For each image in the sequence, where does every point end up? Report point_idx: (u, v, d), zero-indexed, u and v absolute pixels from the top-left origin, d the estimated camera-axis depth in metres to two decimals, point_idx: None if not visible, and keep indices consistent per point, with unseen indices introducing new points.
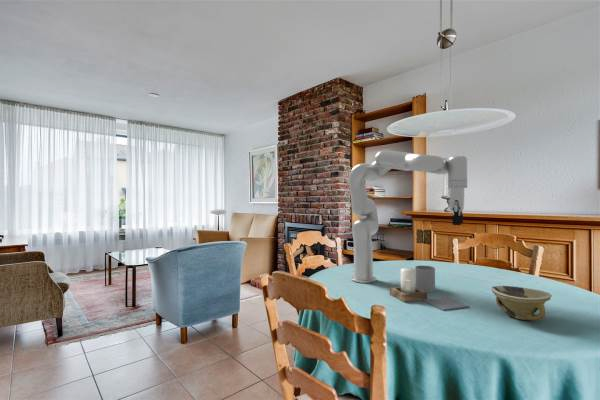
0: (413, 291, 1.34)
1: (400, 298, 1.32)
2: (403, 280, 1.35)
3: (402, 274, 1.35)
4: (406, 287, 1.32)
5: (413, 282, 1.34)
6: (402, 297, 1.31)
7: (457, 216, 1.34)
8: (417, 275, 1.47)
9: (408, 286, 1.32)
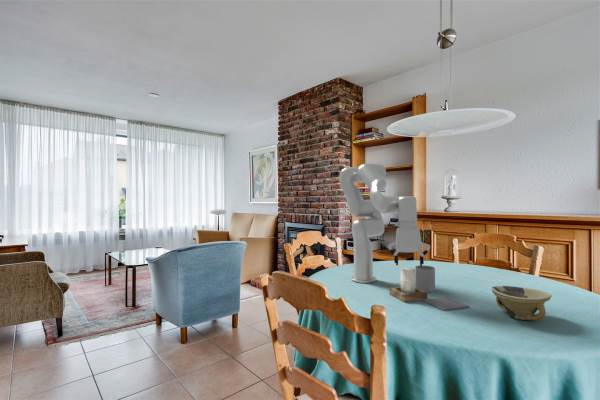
0: (413, 291, 1.34)
1: (400, 298, 1.32)
2: (403, 280, 1.35)
3: (402, 274, 1.35)
4: (406, 287, 1.32)
5: (413, 282, 1.34)
6: (402, 297, 1.31)
7: None
8: (417, 275, 1.47)
9: (408, 286, 1.32)
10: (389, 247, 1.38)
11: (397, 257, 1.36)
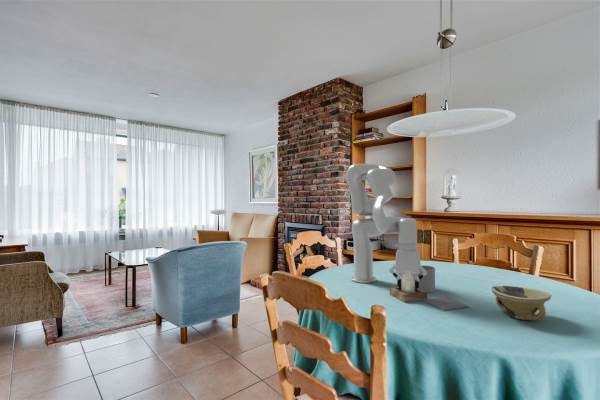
0: (413, 291, 1.34)
1: (400, 298, 1.32)
2: (403, 280, 1.35)
3: (402, 274, 1.35)
4: (406, 287, 1.32)
5: (413, 282, 1.34)
6: (402, 297, 1.31)
7: (418, 281, 1.35)
8: None
9: (408, 286, 1.32)
10: (391, 271, 1.38)
11: (400, 281, 1.36)
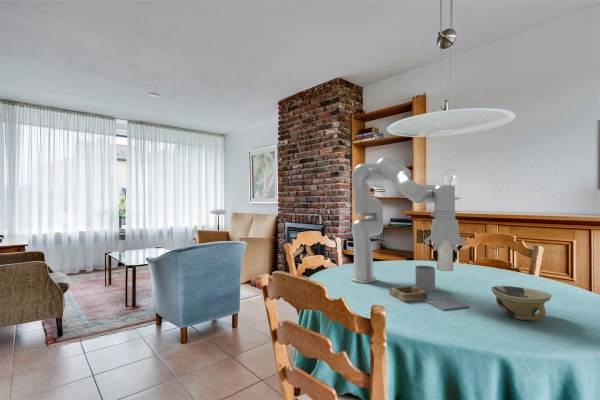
0: (451, 262, 1.25)
1: (400, 298, 1.32)
2: (440, 250, 1.25)
3: None
4: (444, 258, 1.23)
5: (451, 253, 1.25)
6: (402, 297, 1.31)
7: (456, 252, 1.26)
8: (417, 275, 1.47)
9: (446, 256, 1.22)
10: (426, 242, 1.29)
11: (436, 252, 1.27)
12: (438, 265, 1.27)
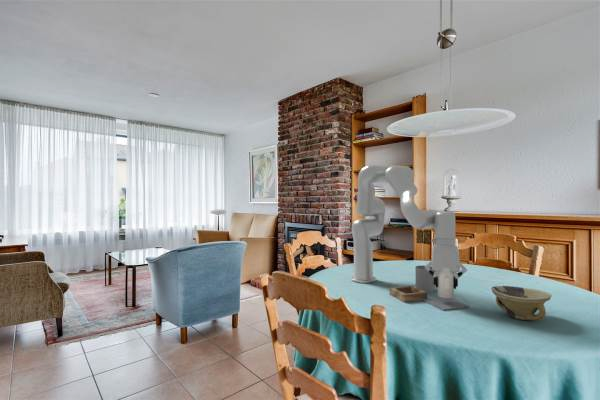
0: (452, 289, 1.25)
1: (400, 298, 1.32)
2: (441, 277, 1.25)
3: (439, 271, 1.26)
4: (445, 285, 1.23)
5: (452, 280, 1.25)
6: (402, 297, 1.31)
7: None
8: (417, 275, 1.47)
9: (447, 284, 1.22)
10: (427, 268, 1.29)
11: (437, 279, 1.27)
12: (439, 292, 1.27)
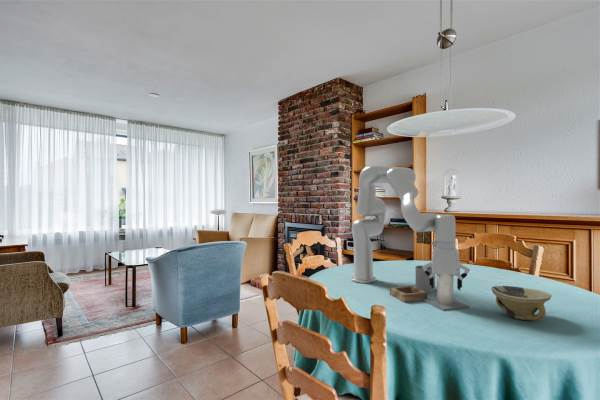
0: (451, 296, 1.25)
1: (400, 298, 1.32)
2: (441, 284, 1.26)
3: (439, 278, 1.26)
4: (444, 292, 1.23)
5: (451, 287, 1.25)
6: (402, 297, 1.31)
7: (461, 280, 1.26)
8: (417, 275, 1.47)
9: (447, 291, 1.23)
10: (424, 268, 1.29)
11: (433, 279, 1.27)
12: (438, 298, 1.27)
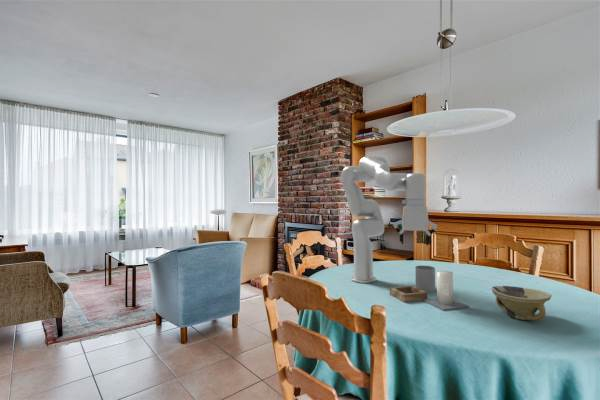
0: (451, 296, 1.25)
1: (400, 298, 1.32)
2: (440, 284, 1.26)
3: (439, 278, 1.26)
4: (444, 292, 1.23)
5: (451, 287, 1.25)
6: (402, 297, 1.31)
7: (429, 236, 1.31)
8: (417, 275, 1.47)
9: (446, 291, 1.23)
10: (395, 225, 1.34)
11: None
12: (438, 298, 1.27)
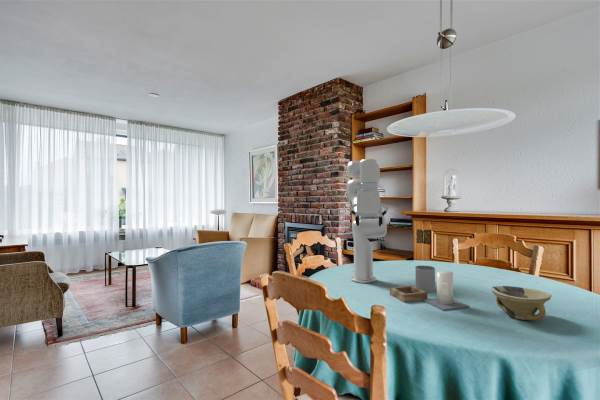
0: (451, 296, 1.25)
1: (400, 298, 1.32)
2: (440, 284, 1.26)
3: (439, 277, 1.27)
4: (444, 291, 1.23)
5: (451, 286, 1.25)
6: (402, 297, 1.31)
7: (382, 217, 1.40)
8: (417, 275, 1.47)
9: (446, 290, 1.23)
10: (351, 208, 1.43)
11: (358, 218, 1.42)
12: (438, 298, 1.27)
